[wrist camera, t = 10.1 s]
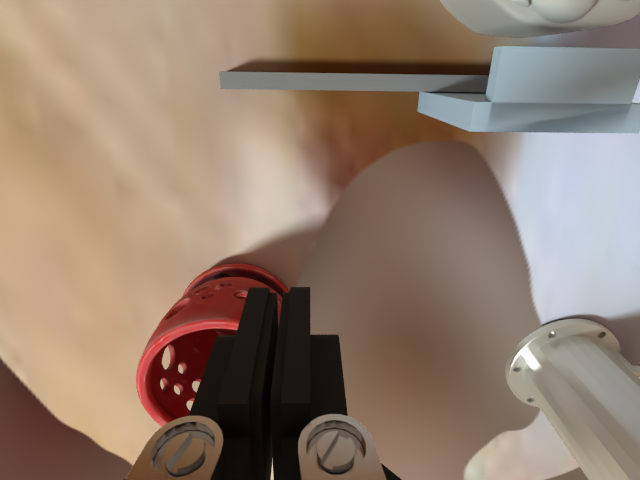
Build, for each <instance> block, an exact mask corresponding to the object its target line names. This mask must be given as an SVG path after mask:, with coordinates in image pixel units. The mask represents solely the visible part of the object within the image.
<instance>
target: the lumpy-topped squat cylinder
mask: <svg viewBox="0 0 640 480" xmlns="http://www.w3.org/2000/svg"><path fill="white" fill-rule="evenodd" d="M440 1H441V2H442V4H443V5H444V7H445V8H446V9H447V10H448V11H449V12H450V13H451V14H452V15H453V16H454V17H455V18H456V19H458V20H459V21H460V22H461V23H463V24H464V25H465V26H467V27H468V28H469V29H471V30H472V31H474V32H476V33H479V34H482V35H488V36H496V37H511V38H523V37H535V36H546V35H553V34H560V33H567V32H574V31H581V30H588V29H594V28H600V27H607V26H612V25H616V24H620V23H622V22H625V21H628V20H630V19H632V18H633V17H635V16H637V15H638V14H639V13H640V0H440Z"/></svg>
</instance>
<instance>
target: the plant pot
mask: <svg viewBox="0 0 640 480" xmlns="http://www.w3.org/2000/svg"><path fill="white" fill-rule="evenodd" d="M250 287H269V288H270V293H277V299H278V326H279V321H280V312H281V304H282V295H283V293H290V292H289V291H288V289H287V288H286V286H285V285H284V284H283V283H282V282H281V281H280V280H279V279H278V278H277V277H275V276H274V275H272V274H271V273H269V272H268V271H266V270H264V269H261V268H259V267H256V266H253V265H248V264H239V263H238V264H225V265H220V266H217V267H214V268H211V269H209V270H207V271H205V272H203V273H202V274H200V275H199V276H198V277H196V278H195V279H194V280H193V281H192V282H191V283H190V285H189V286H188V287H187V289H186V291H185V293H184V295H183V297H182V298H181V299H180V300H179V301H178V302H177V303H176V304H175V305H174V306H173V307H172V308H171V309H170V310H169V312H168V313H167V314H166V315H165V316H164V318H163V319H162V320H161V322H160V323H159V325H158V327H157V329H156V330H155V332H154V333H153V335H152V336H151V338H150V340H149V342H148V344H147V346H146V348H145V350H144V352H143V354H142V356H141V359H140V361H139V364H138V368H137V375H136V386H137V392H138V395H139V398H140V400H141V403H142V405H143V406H144V408H145V409H146V411H147V412H148V413H149V415H150V416H151V417H152V418H153V419H154V420H155V421H156V422H157V423H158V424H159V425H161V426H162V427H163V426H164V425H165V424H167V423H169V422H171V421H173V420H175V419H178V418H182V417H185V416H189V414H190V410H189V409H188V408H187V406H186V404H187V401H189V400H191V401H194V399H195V396H196V393H197V392H195V391H194V390H193V389H192V383H193V381H199V382H201V379H202V376H203V373H204V370H205V368H206V365H207V362H208V359H209V356H210V353H211V350H212V348H213V345H214V342H215V339H216V337H217V336H218V335H236V333H237V329H238V326H239V322H240V318H241V315H242V311H243V307H244V304H245V300H246V297H247V293H248V290H249V288H250ZM167 346H168V348H169V351H170V364H169V367H168V368H167V369H166V370H165V369H164V368H163V365H162V357H163V353H164V350H165V348H166V347H167ZM179 364H180V365H181V366H182V367H183V374H181V373H179V371H178V365H179ZM161 379H162V381H163V384H164V388H163V390H162V389H161V386H160V380H161ZM174 385H176V386H178V388H179V389H180V395H178V394H176V393H175V392H174Z"/></svg>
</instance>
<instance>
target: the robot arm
mask: <svg viewBox="0 0 640 480" xmlns="http://www.w3.org/2000/svg"><path fill="white" fill-rule="evenodd" d="M505 374H506V379H507V382H508V385H509V387H510V388H511V390H512V391H513V393H514V394H515V396H517V397H518V398H519V399H520V400H521V401H523V402H524V403H526V404H529V405H532V406H535V407H540V409H541V410H542V412H543V413H544V415H545V416H546V418H547V419H548V421H549V422H550V423H551V425H552V426H553V428H554V429H555V431H556V432H557V434H558V435H559V437H560V438H561V440H562V441H563V443H564V444H565V445H566V447H567V448H568V450H569V451H570V453H571V454H572V456H573V457H574V459H575V460H576V462H577V463H578V465H579V466H580V467H581V469H582V470H583V472H584V473H585V475H586V476H587V478H588V479H589V480H640V379H639V378H638V377H640V364H635V365H632V364H631V363H629V362H628V361H627V360H626V359H625V358H624V357H623V356H622V355H621V348H620V345H619V342H618V340H617V339H616V337H615V336H614V335H613V334H612V333H611V332H610V331H609V330H608V329H607V328H605V327H604V326H602V325H601V324H599V323H597V322H594V321H592V320H586V319H565V320H559V321H556V322H553V323H549V324H547V325H545V326H542V327H540V328H538V329H537V330H535V331H533V332H532V333H530V334H529V335H527V336H526V337H525V338H524V339H523V340H522V341H520V343H519V344H518V345H517V346H516V347H515V348H514V350H513V352H512V353H511V355H510V357H509V359H508V362H507V365H506V373H505ZM272 457H273V472H274V480H401V479H400V478H399V477H398V476H396V475H395V474H394V473H392V472H391V471H390V470H389V469H388V468H386V467H385V466H384V465H382V464H381V463H380V460H379V457H378V454H377V451H376V448H375V445H374V442H373V439H372V437H371V436H370V434H369V432H368V430H367V429H366V428H365V427H364V426H363V425H362V424H361V423H360V422H359V421H357V420H355V419H353V418H351V417H349V416H347V407H346V398H345V389H344V379H343V371H342V361H341V352H340V343H339V336H338V335H310V287H291V289H290V293H283V295H282V304H281V312H280V321H279V326H278V299H277V293H270V288H269V287H250V288H249V290H248V293H247V297H246V300H245V304H244V307H243V311H242V315H241V318H240V322H239V326H238V329H237V333H236V335H218V336H217V337H216V339H215V342H214V345H213V348H212V350H211V353H210V356H209V359H208V362H207V365H206V368H205V370H204V373H203V376H202V379H201V382H200V385H199V388H198V391H197V393H196V396H195V399H194V402H193V405H192V408H191V411H190V414H189V416H185V417H182V418H178V419H175V420H173V421H171V422H169V423H167V424H165V425H164V426H163V427H162V428H160V429H159V430H158V431H157V432H155V433H154V435H153V436H152V437H151V439H150V440H149V441H148V442H147V444H146V445H145V447H144V449H143V450H142V452H141V454H140V455H139V457H138V459H137V460H136V462H135V464H134V465H133V467H132V469H131V470H130V472H129V474H128V475H127V477H126V478H125V479H124V480H270V478H271V467H272Z"/></svg>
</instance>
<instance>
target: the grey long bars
mask: <svg viewBox="0 0 640 480" xmlns="http://www.w3.org/2000/svg"><path fill="white" fill-rule="evenodd" d="M219 73H220V85H221V89H275V90H346V91H418V92H486V90H487V85H488V79H489V75H427V74H362V73H297V72H231V71H222V72H219Z"/></svg>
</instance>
